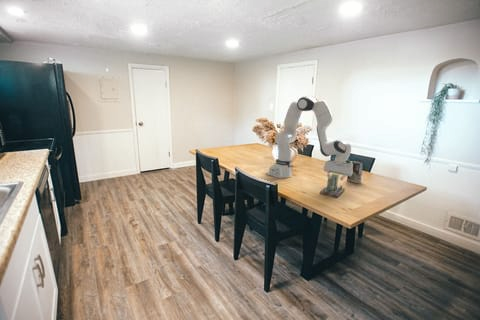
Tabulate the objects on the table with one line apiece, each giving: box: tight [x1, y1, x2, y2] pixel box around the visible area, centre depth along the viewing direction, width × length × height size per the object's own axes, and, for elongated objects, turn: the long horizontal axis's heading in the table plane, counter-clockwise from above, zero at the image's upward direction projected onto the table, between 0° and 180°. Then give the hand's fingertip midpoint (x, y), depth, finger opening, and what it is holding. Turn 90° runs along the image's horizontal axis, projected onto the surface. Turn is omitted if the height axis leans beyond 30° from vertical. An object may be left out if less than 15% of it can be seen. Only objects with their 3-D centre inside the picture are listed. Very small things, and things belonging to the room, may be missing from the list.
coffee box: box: [346, 160, 364, 184], centre depth 201 cm, size 9×6×16 cm
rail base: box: [319, 175, 345, 199], centre depth 177 cm, size 12×18×12 cm, turn 142°
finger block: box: [330, 173, 340, 191], centre depth 178 cm, size 4×4×11 cm
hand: (334, 178), depth 178 cm, fingers open, 8 cm apart
